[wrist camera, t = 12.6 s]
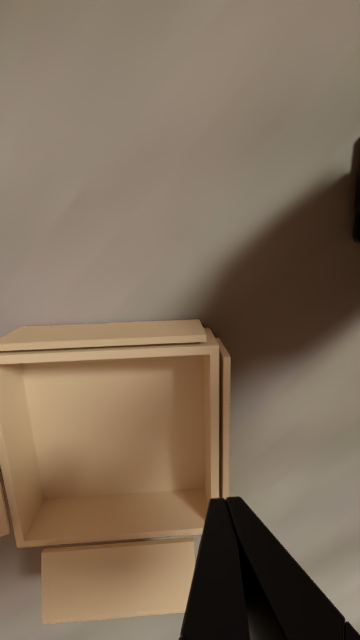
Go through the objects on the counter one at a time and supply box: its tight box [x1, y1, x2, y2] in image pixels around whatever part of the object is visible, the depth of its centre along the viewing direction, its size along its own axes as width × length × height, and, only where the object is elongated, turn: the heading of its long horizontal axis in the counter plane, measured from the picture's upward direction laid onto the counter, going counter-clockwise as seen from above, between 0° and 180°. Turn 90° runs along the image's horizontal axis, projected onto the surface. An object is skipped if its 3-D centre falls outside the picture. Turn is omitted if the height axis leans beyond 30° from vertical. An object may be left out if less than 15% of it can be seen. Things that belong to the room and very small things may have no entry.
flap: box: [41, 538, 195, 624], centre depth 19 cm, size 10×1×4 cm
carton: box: [0, 319, 231, 548], centre depth 20 cm, size 14×14×4 cm
